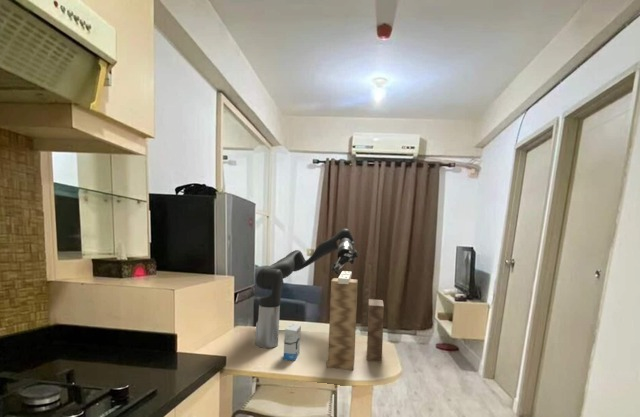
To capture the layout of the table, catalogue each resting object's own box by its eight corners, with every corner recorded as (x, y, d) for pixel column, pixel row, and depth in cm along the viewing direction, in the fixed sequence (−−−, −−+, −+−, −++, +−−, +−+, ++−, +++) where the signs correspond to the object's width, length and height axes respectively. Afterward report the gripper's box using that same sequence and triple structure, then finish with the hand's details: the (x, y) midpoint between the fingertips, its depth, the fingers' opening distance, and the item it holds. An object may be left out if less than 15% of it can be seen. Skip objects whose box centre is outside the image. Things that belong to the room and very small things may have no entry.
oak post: (326, 367, 128) (330, 282, 130) (330, 356, 139) (333, 277, 141) (353, 369, 127) (356, 283, 128) (354, 358, 138) (357, 279, 139)
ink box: (294, 361, 133) (296, 330, 133) (282, 359, 134) (284, 329, 134) (300, 353, 141) (301, 324, 142) (288, 351, 142) (290, 323, 143)
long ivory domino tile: (337, 283, 128) (338, 277, 128) (342, 275, 149) (342, 270, 149) (348, 284, 127) (348, 278, 127) (351, 276, 149) (351, 271, 149)
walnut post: (366, 360, 137) (368, 305, 138) (367, 349, 149) (368, 299, 150) (381, 361, 136) (383, 306, 137) (380, 350, 148) (382, 300, 149)
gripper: (361, 249, 169) (361, 265, 153) (339, 264, 173) (337, 281, 158) (351, 238, 167) (350, 253, 152) (329, 254, 171) (327, 270, 156)
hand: (344, 267), depth 155 cm, fingers open, 8 cm apart
